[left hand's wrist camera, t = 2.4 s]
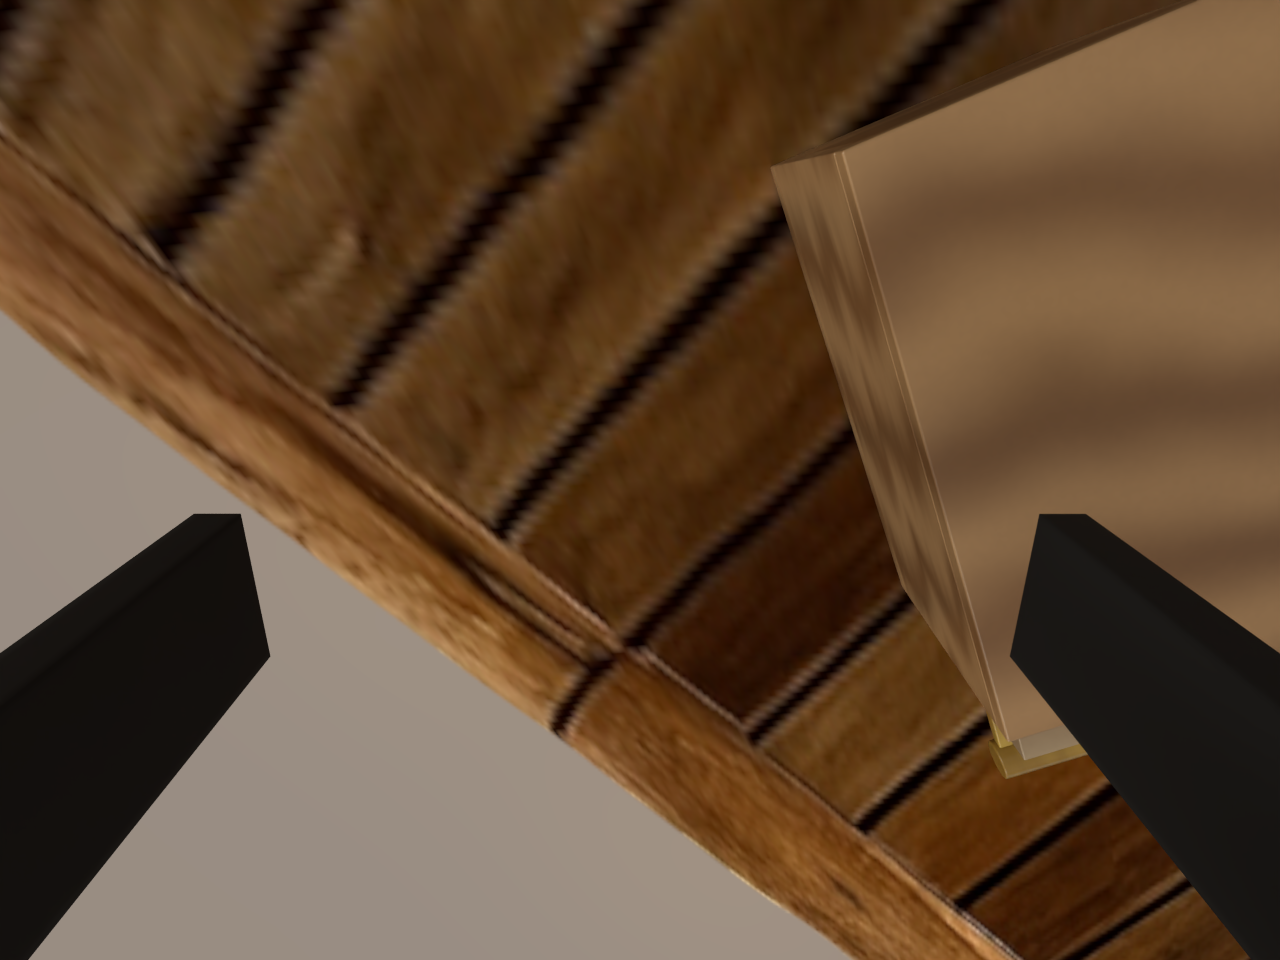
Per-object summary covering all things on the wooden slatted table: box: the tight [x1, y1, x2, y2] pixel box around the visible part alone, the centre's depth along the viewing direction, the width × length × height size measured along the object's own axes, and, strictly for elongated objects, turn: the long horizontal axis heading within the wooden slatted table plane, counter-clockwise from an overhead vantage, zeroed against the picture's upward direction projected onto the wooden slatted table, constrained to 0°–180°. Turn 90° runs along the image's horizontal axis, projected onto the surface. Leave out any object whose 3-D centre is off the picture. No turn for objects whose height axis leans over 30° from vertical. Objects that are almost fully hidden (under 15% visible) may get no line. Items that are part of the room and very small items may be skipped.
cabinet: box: [771, 0, 1280, 742], centre depth 26 cm, size 20×11×11 cm, turn 22°
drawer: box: [986, 711, 1088, 779], centre depth 28 cm, size 24×9×9 cm, turn 22°
